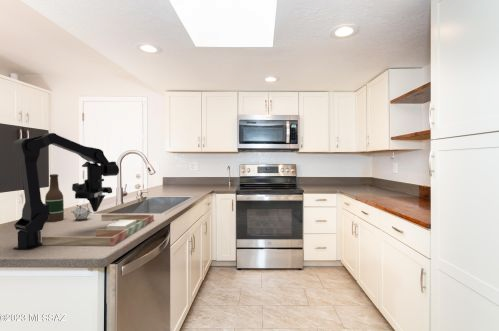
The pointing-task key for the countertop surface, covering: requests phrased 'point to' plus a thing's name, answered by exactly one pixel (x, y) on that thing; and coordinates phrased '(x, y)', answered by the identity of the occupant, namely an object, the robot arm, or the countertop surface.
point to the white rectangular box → (121, 224)
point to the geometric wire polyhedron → (81, 212)
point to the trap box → (103, 232)
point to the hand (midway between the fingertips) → (95, 211)
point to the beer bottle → (54, 200)
